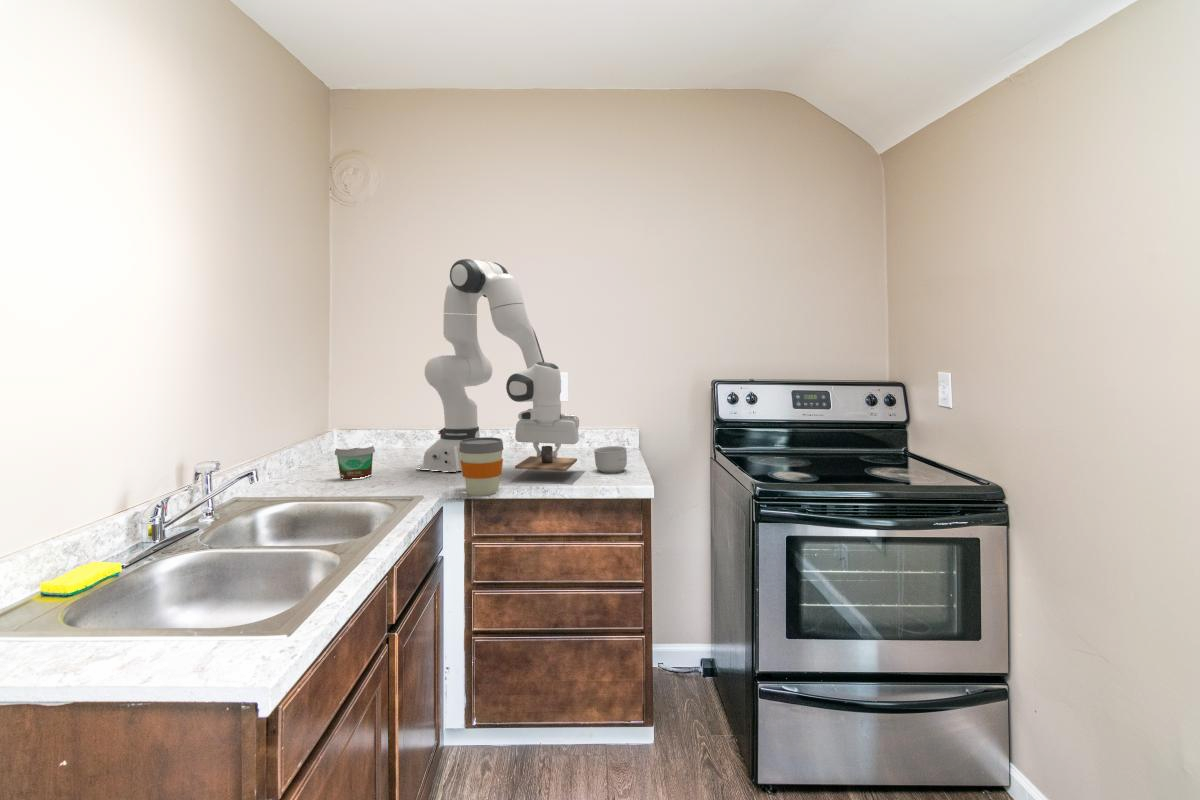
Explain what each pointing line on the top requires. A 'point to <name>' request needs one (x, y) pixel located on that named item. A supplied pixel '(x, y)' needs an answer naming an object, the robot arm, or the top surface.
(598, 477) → the top surface
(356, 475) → the food container
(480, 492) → the reusable coffee cup
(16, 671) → the top surface
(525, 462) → the walnut lid
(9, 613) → the top surface
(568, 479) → the rubber mat
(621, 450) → the teacup
